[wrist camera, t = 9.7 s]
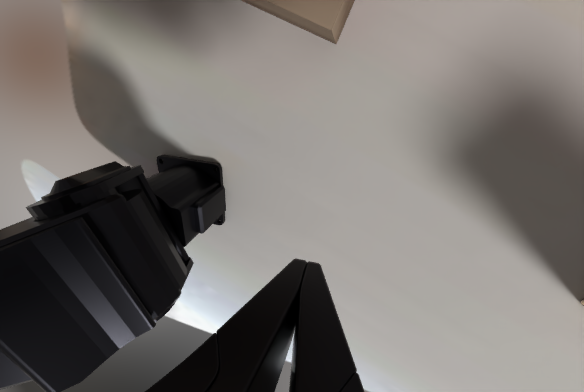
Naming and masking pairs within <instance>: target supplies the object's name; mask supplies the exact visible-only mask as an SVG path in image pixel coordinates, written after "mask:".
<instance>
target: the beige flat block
mask: <svg viewBox="0 0 584 392" xmlns="http://www.w3.org/2000/svg"><path fill="white" fill-rule="evenodd" d="M241 1H244V2H246V3H248V4H250V5H252V6H254V7H257V8H259V9H261V10H263V11H265V12H267V13H270V14H272V15H274V16H276V17H278V18H280V19H283V20H285V21H287V22H289V23H291V24H293V25H296V26H298V27H300V28H302V29H304V30H306V31H309V32H311V33H313V34H315V35H317V36H319V37H322V38H324V39H326V40H328V41H330V42H332V43H335V44H337V41H338V39H339V37H340V34H341V32H342V29H343V27H344V25H345V22H346V20H347V17H348V15H349V13H350V10H351V8H352V5H353V3H354V1H355V0H241Z"/></svg>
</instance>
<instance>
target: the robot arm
mask: <svg viewBox="0 0 584 392" xmlns="http://www.w3.org/2000/svg"><path fill="white" fill-rule="evenodd" d="M162 160H163V161H164V162H163V161H162ZM157 165H158V170H159V173H157V174H155V175H153V176H151V177H149V178H147V179H146V178H145V176H144V174H143V173H144V171H143V169H142V167H141V165H139V166H136V167H132V168H131V167H130V166H127V167H126V166H125V167H124V166H122V165H121V164H119V163H117V162H112V163H108V164H105V165H102V166H99V167H96V168H93V169H90V170H87V171H84V172H81V173H78V174H75V175H72V176H70V177H67V178H64V179H61V180H58V181H55V183H54V186H53V188H52V190H51V192H50V194H47V195H45V196H43V197H41V198H42V200H40V201H38V202H36V203H34V204H32V205H30V206H28V207H26V208H27V210H28V211H29V212H30V214H31V215H32V216H33V217H31V218H29V219H26V220H24V221H21V222H19V223H16V224H14V225H11V226H9V227H6V228H3V229H1V230H0V390H1V389H4V388H8V387H11V386H15V385H19V384H22V383H26V382H30V381H34V382H36V384H38V385H39V386H40V387H41V388H42V389H43V390H44V391H45V392H61V391H63V390H65V389H67V388H69V387H71V386H73V385H76V384H78V383H80V382H81V381H83V380H84V379H85V378H86V377H87V376H88V375H90V374H91V373H92V372H93V371H94V370H95V369H96V368H98V367H99V366H100V365H101V364H102V363H103V362H104V361H106V360H107V359H108V358H109V357H110V356H111V355H113V354H114V353H115V352H116V351H117V350H119V349H120V348H121V347H123V346H124V345H126V344H127V343H129V342H130V341H131V340H133V339H134V338H136V337H137V336H139V335H141V334H143V333H145V332H147V331H149V330H150V329H152V328H154V327H155V325H156V321H158V320H159V319H160V318H162V317H163V316H164V315H165V314H166V313H167V312H168V311H169V310H170V309H171V308H172V306H173V305H174V304H175V302H176V300H177V299H178V298H179V297H180V295H181V290H182V287H183V285H184V283H185V281H186V279H187V276H188V274H189V272H190V270H191V268H192V265H193V261H192V259H191V258H190V257H189V256H188V255H187V253H186V251H185V249H184V247H185V246H186V245H187V244H188V243H189V242H190V241H191V240H192V239H193V238H194V237H195V236H196V235H197V234H198V233H201V234H202V233H204V232H205V231H206V230H207V229H208V228H209V227H210V226H211V225H212V224H216V225H222V224H223V223H224V222H225V211H226V203H225V188H224V186H223V176H222V167H221V165H220V164H218V163H213V162H206V161H200V160H193V159H187V158H180V157H173V156H167V155H161V156H158V157H157ZM215 167H216V168H217V171H216V170H215ZM219 219H220V220H221V221H220V220H219ZM294 330H295V333H294ZM293 334H294V341H293V353H292V364H291V376H290V387H289V392H364V389H363V386H362V383H361V380H360V378H359V375H358V373H356V371H357V369H356V366H355V363H354V361H353V358H352V355H351V352H350V349H349V346H348V343H347V340H346V337H345V334H344V332H343V329H342V326H341V323H340V320H339V317H338V314H337V311H336V308H335V305H334V303H333V300H332V297H331V294H330V291H329V288H328V285H327V282H326V279H325V276H324V274H323V271H322V268H321V265H320V264H319V263H315V262H310V261H309V262H306V261H305V260H300V259H294V260H293V261H291V262H290V263H289V264H288V265H287V266H286V267H285V268H284V269H283V270H282V271H281V272H280V273H279V274H277V275H276V276H275V277H274V278H273V279H272V280H271V281H270V282H269V283H268V284H267V285H266V286H265V287H264V288H262V289H261V290H260V291H259V292H258V293H257V294H256V295H255V296H254V297H253V298H252V299H251V300H250V301H248V302H247V303H246V304H245V305H244V306H243V307H242V308H241V309H240V310H239V311H238V312H237V313H236V314H234V315H233V316H232V317H231V318H230V319H229V320H228V321H227V322H226V323H225V324H224V325H223V326H222V327H221V328H219V329H218V330H217V334H216V333H214V334H213V335H212V336H211V337H210V338H209V339H207V340H206V341H205V342H204V343H203V344H202V345H201V346H200V347H199V348H198V349H197V350H195V351H194V352H193V353H192V354H191V355H190V356H189V357H187V358H186V359H185V360H184V361H183V362H182V363H180V364H179V365H178V366H177V367H175V368H174V369H173V370H172V371H170V372H169V373H168V374H167V375H166V376H164V377H163V378H162V379H161V380H159V381H158V382H157V383H155V384H154V385H153V386H152V387H150V388H149V389H148V390H146V391H145V392H275V389H276V386H277V383H278V380H279V377H280V374H281V371H282V368H283V365H284V362H285V359H286V356H287V353H288V350H289V347H290V344H291V341H292V337H293Z"/></svg>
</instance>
